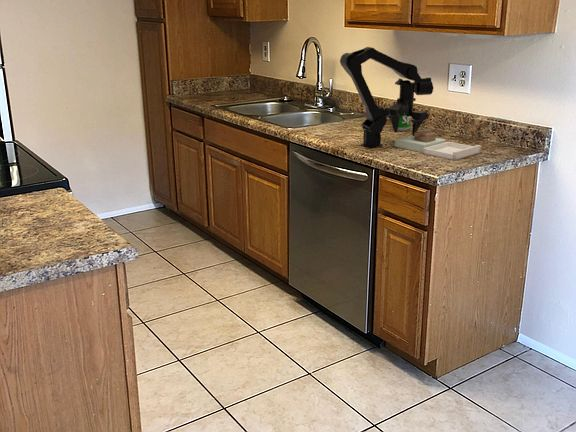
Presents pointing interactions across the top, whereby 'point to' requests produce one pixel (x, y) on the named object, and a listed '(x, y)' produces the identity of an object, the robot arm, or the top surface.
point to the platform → (415, 143)
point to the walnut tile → (425, 136)
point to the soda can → (404, 123)
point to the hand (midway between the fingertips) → (404, 134)
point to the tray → (451, 150)
